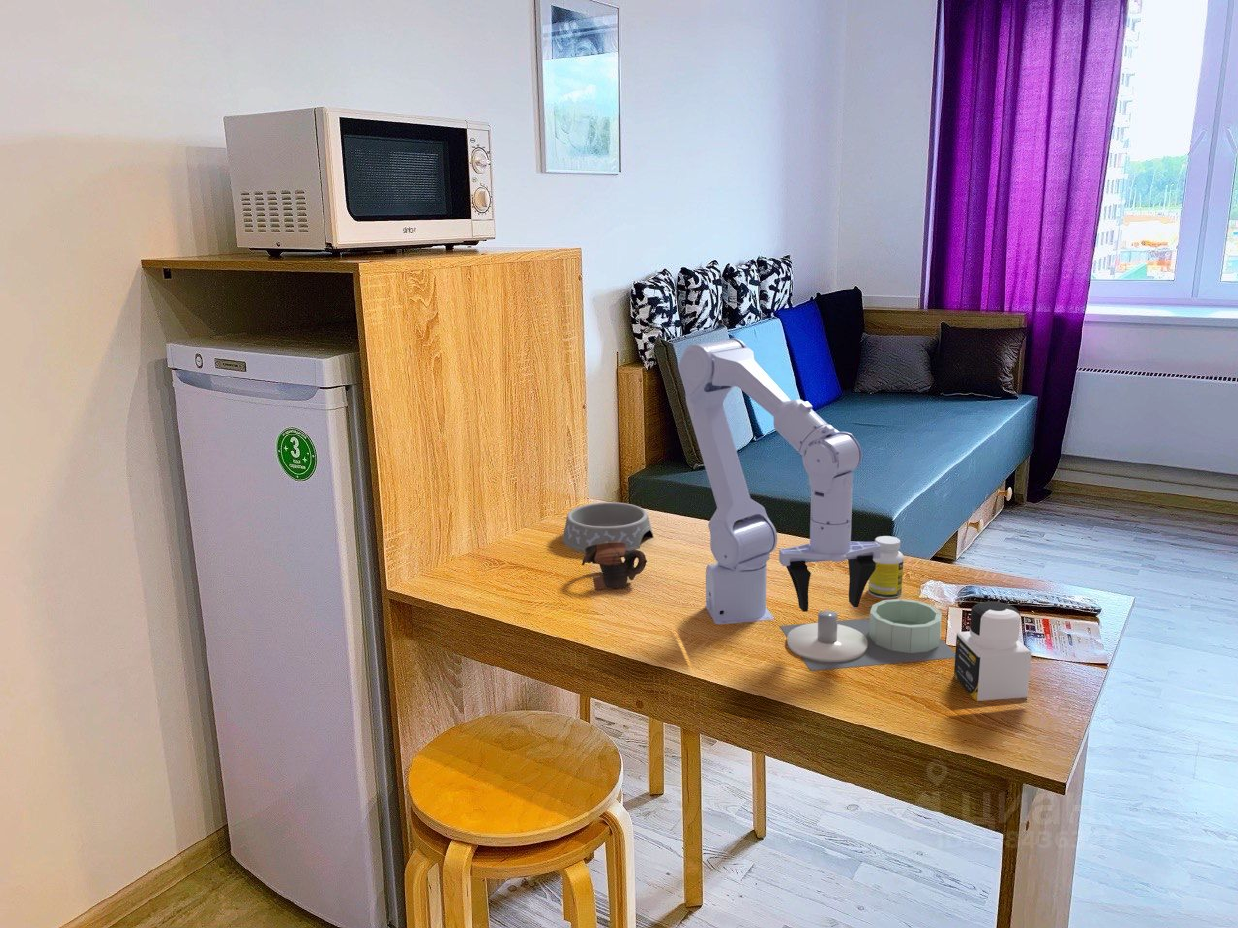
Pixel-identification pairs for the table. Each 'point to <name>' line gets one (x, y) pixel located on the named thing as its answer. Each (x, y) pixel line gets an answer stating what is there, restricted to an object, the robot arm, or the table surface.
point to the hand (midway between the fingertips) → (828, 606)
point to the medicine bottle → (993, 654)
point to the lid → (827, 640)
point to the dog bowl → (605, 525)
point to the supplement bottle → (887, 569)
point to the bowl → (905, 625)
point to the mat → (874, 650)
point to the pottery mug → (614, 564)
